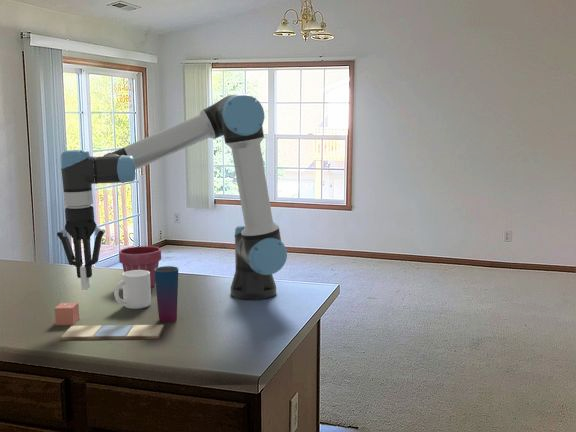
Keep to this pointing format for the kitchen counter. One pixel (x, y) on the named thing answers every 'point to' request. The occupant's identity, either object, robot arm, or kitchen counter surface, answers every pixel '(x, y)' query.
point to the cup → (167, 292)
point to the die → (66, 313)
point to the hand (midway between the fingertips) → (85, 288)
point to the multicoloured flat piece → (113, 332)
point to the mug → (134, 289)
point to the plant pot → (141, 259)
